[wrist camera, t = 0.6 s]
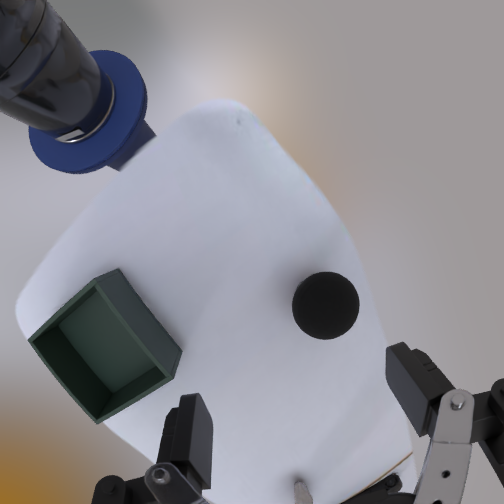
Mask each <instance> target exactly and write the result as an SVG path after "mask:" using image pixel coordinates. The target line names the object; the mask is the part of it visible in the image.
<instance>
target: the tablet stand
mask: <svg viewBox="0 0 504 504" xmlns="http://www.w3.org/2000/svg"><path fill="white" fill-rule="evenodd" d="M382 488H386V490H387V493H394V492H398V491H399V490H400V489H401V488H402V482H401V480H400V478H399V476H397V475H390V476H388V477H387V478H385V479H384V480H382V481H380V482H379V483H377V484H375V485H374V486H372V487H370V488H368V489H367V490H365V491H364V492H362V493H361V494H359V495H357V496H355V497H353V498H351V499H350V500H348V501H346V502H344V503H342V504H346V503H347V502H349V501H351V500H353V499H355V498H357V497H359V496H362V495H365V494H368V493H371V492H374V491H377V490H379V489H382Z"/></svg>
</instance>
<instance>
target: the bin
mask: <svg viewBox="0 0 504 504" xmlns="http://www.w3.org/2000/svg"><path fill="white" fill-rule="evenodd" d="M28 342H29V343H30V344H31V346H32V347H33V349H34V350H35V351H36V353H37V354H38V356H39V357H40V358H41V360H42V361H43V362H44V364H45V365H46V366H47V368H48V369H49V370H50V372H51V373H52V374H53V375H54V377H55V378H56V379H57V380H58V382H59V383H60V384H61V385H62V386H63V387H64V389H65V390H66V391H67V392H68V393H69V395H70V396H71V397H72V398H73V399H74V400H75V402H76V403H77V404H78V405H79V406H80V407H81V408H82V409H83V410H84V412H85V413H86V414H87V415H88V416H89V417H90V418H91V419H92V420H93V421H94V422H95V423H96V424H99V423H101V422H103V421H104V420H106V419H108V418H110V417H111V416H113V415H115V414H117V413H118V412H120V411H122V410H123V409H125V408H127V407H129V406H130V405H132V404H134V403H135V402H137V401H139V400H140V399H142V398H144V397H145V396H147V395H148V394H150V393H152V392H153V391H155V390H157V389H158V388H160V387H161V386H163V385H165V384H166V383H168V382H169V381H171V380H173V379H174V376H175V373H176V370H177V367H178V364H179V361H180V358H181V355H182V350H181V349H180V348H179V347H178V345H177V344H176V343H175V342H174V341H173V339H172V338H171V337H170V336H169V335H168V333H167V332H166V331H165V330H164V328H163V327H162V326H161V325H160V323H159V322H158V321H157V320H156V318H155V317H154V316H153V314H152V313H151V312H150V311H149V309H148V308H147V307H146V305H145V304H144V303H143V301H142V300H141V299H140V297H139V296H138V295H137V293H136V292H135V291H134V289H133V288H132V287H131V285H130V284H129V283H128V281H127V280H126V278H125V277H124V276H123V274H122V273H121V271H120V270H119V269H115V270H113V271H110V272H108V273H106V274H103V275H101V276H99V277H96V278H94V279H93V280H92V281H91V282H90V283H88V284H87V285H86V286H85V287H84V288H83V289H82V290H80V291H79V292H78V293H77V294H76V295H75V296H74V297H73V298H71V299H70V300H69V301H68V302H67V303H66V304H65V305H64V306H63V307H62V308H60V309H59V310H58V311H57V312H56V313H55V314H54V315H53V316H52V317H51V318H50V319H49V320H48V321H47V322H45V323H44V324H43V325H42V326H41V327H40V328H39V329H38V330H37V331H36V332H35V333H34V334H33V335H32V336H31V337H30V338H29V339H28Z"/></svg>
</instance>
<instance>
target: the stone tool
mask: <svg viewBox="0 0 504 504" xmlns="http://www.w3.org/2000/svg"><path fill="white" fill-rule="evenodd" d="M295 504H313V499H312V496H311V495H310V493H309V492H308V489H307V486H306V485H305V484H304V483H302V482H300V481H299V482H297V484H296V483H295Z"/></svg>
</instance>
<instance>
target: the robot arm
mask: <svg viewBox="0 0 504 504" xmlns="http://www.w3.org/2000/svg"><path fill="white" fill-rule="evenodd" d="M115 103H116V88H115V85H114V83H113V81H112V80H111V78H110V77H109V76H108V75H107V74H106V73H105V72H104V71H103V70H102V69H101V67H100V66H99V65H98V63H97V62H96V61H95V60H94V58H93V57H92V56H91V55H90V53H89V52H88V51H87V50H86V48H85V47H84V46H83V45H82V43H81V42H80V41H79V40H78V38H77V37H76V36H75V35H74V33H73V32H72V31H71V29H70V28H69V27H68V26H67V24H66V23H65V22H64V21H63V19H62V18H61V17H60V16H59V15H58V13H57V12H56V11H55V10H54V9H53V7H52V6H51V5H50V3H49V2H48V1H47V0H0V112H2V113H4V114H6V115H8V116H10V117H12V118H14V119H16V120H18V121H21V122H23V123H25V124H27V125H29V126H31V127H33V128H35V129H37V130H39V131H41V132H43V133H45V134H47V135H49V136H51V137H52V138H54V139H55V140H57V141H59V142H61V143H65V144H77V143H81V142H84V141H86V140H88V139H90V138H91V137H93V136H94V135H95V134H97V133H98V132H99V131H100V130H101V129H102V128H103V127H104V125H105V124H106V123H107V121H108V120H109V118H110V116H111V115H112V112H113V110H114V107H115ZM386 380H387V383H388V385H389V387H390V389H391V390H392V392H393V394H394V395H395V397H396V399H397V400H398V402H399V404H400V405H401V407H402V409H403V410H404V412H405V414H406V415H407V417H408V419H409V420H410V422H411V424H412V425H413V427H414V429H415V430H416V432H417V434H418V435H419V437H421V436H424V435H426V434H428V435H429V437H430V438H431V439H430V442H429V446H428V450H427V454H426V457H425V460H424V464H423V467H422V470H421V473H420V477H419V479H418V482H417V485H416V487H415V490H414V493H413V494H412V493H405V492H394V493H387V490H386V488H382V489H379V490H377V491H374V492H371V493H368V494H365V495H362V496H359V497H357V498H355V499H353V500H351V501H349V502H347V503H346V504H460V503H461V499H462V496H463V492H464V487H465V483H466V478H467V474H468V468H469V463H470V457H471V451H472V444H471V443H475V442H478V443H479V445H480V446H481V448H482V450H483V452H484V453H485V455H486V456H487V458H488V460H489V462H490V463H491V465H492V467H493V469H494V471H495V472H496V474H497V476H498V478H499V480H500V481H501V483H502V485H503V487H504V378H503V379H499V380H498V381H496V382H495V383H494V384H493V386H492V388H491V391H487V392H483V393H479V394H474V395H471V394H470V393H469V392H468V391H466V390H462V389H456V388H455V387H454V386H453V385H452V384H451V382H450V381H449V380H448V379H447V378H446V376H445V375H444V374H443V373H442V372H441V370H440V369H439V368H437V366H436V365H435V364H434V362H432V360H431V359H430V358H429V356H428V355H427V354H426V353H424V352H422V351H420V350H418V349H414V350H412V351H411V350H410V349H409V347H408V346H407V345H406V344H405V343H404V342H400V343H397V344H395V345H392V346H389V347H387V348H386ZM162 434H163V436H162V438H161V443H160V448H159V453H158V458H157V462H156V464H155V465H153V466H151V467H150V468H149V469H148V470H147V471H146V473H145V476H143V477H140V478H136V479H132V480H128V481H124V480H123V479H122V478H120V477H118V476H115V475H109V476H106V477H104V478H102V479H101V480H100V481H99V482H98V483H97V484H96V487H95V490H94V495H93V499H92V503H91V504H209V503H208V502H207V501H206V500H205V499H204V498H203V497H202V490H205V489H211V467H212V444H213V422H212V418H211V416H210V414H209V412H208V409H207V407H206V405H205V403H204V401H203V399H202V397H201V395H200V394H199V393H195V394H187V395H182V396H181V398H180V403H179V407H177V408H172V409H171V410H170V412H169V413H168V415H167V416H166V419H165V424H164V428H163V433H162Z"/></svg>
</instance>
